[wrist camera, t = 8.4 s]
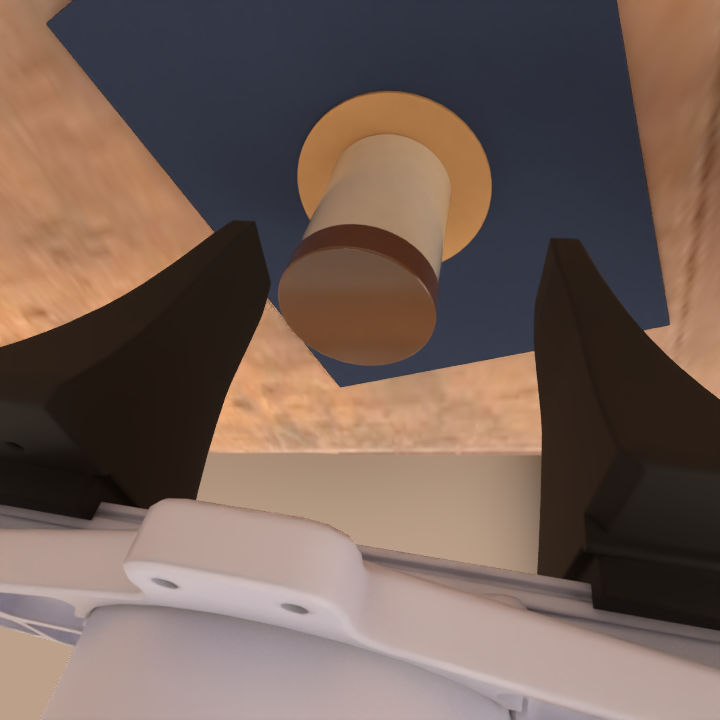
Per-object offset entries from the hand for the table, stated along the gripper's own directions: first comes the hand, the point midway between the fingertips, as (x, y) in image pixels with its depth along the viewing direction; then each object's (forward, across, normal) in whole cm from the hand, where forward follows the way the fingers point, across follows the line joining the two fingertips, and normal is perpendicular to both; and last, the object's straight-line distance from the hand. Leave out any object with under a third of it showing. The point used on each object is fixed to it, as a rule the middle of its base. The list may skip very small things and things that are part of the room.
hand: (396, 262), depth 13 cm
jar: (+9, +2, +3) cm, 10 cm away
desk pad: (+9, +2, +4) cm, 10 cm away
